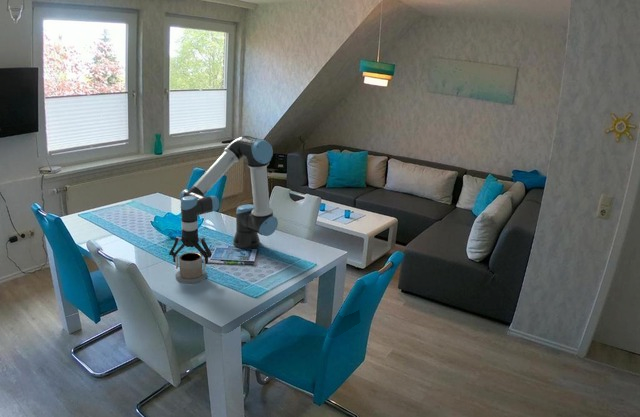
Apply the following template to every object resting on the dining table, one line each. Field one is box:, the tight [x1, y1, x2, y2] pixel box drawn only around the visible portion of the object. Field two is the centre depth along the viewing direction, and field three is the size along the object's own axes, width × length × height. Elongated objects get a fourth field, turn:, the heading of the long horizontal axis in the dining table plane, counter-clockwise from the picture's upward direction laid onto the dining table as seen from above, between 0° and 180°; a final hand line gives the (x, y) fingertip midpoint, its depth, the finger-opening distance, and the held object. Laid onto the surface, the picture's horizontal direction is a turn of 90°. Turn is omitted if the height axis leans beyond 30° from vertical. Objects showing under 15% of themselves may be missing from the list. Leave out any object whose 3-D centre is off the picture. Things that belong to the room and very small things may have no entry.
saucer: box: [174, 269, 208, 284], centre depth 247 cm, size 15×15×1 cm
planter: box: [178, 252, 203, 279], centre depth 246 cm, size 11×11×10 cm
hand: (191, 268), depth 246 cm, fingers open, 13 cm apart
